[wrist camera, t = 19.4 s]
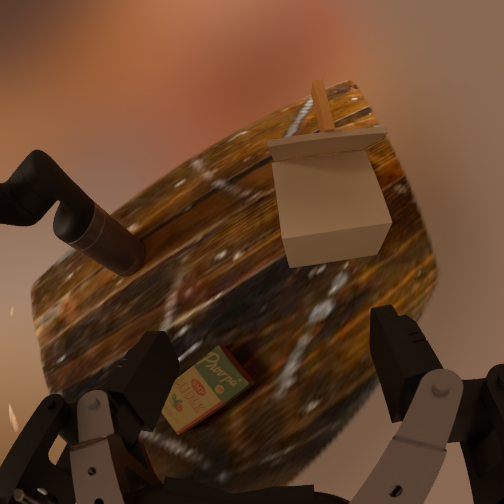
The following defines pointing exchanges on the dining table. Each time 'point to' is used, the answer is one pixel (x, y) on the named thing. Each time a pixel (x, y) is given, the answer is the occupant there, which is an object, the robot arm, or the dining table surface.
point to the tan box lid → (323, 134)
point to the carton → (205, 389)
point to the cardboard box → (330, 208)
